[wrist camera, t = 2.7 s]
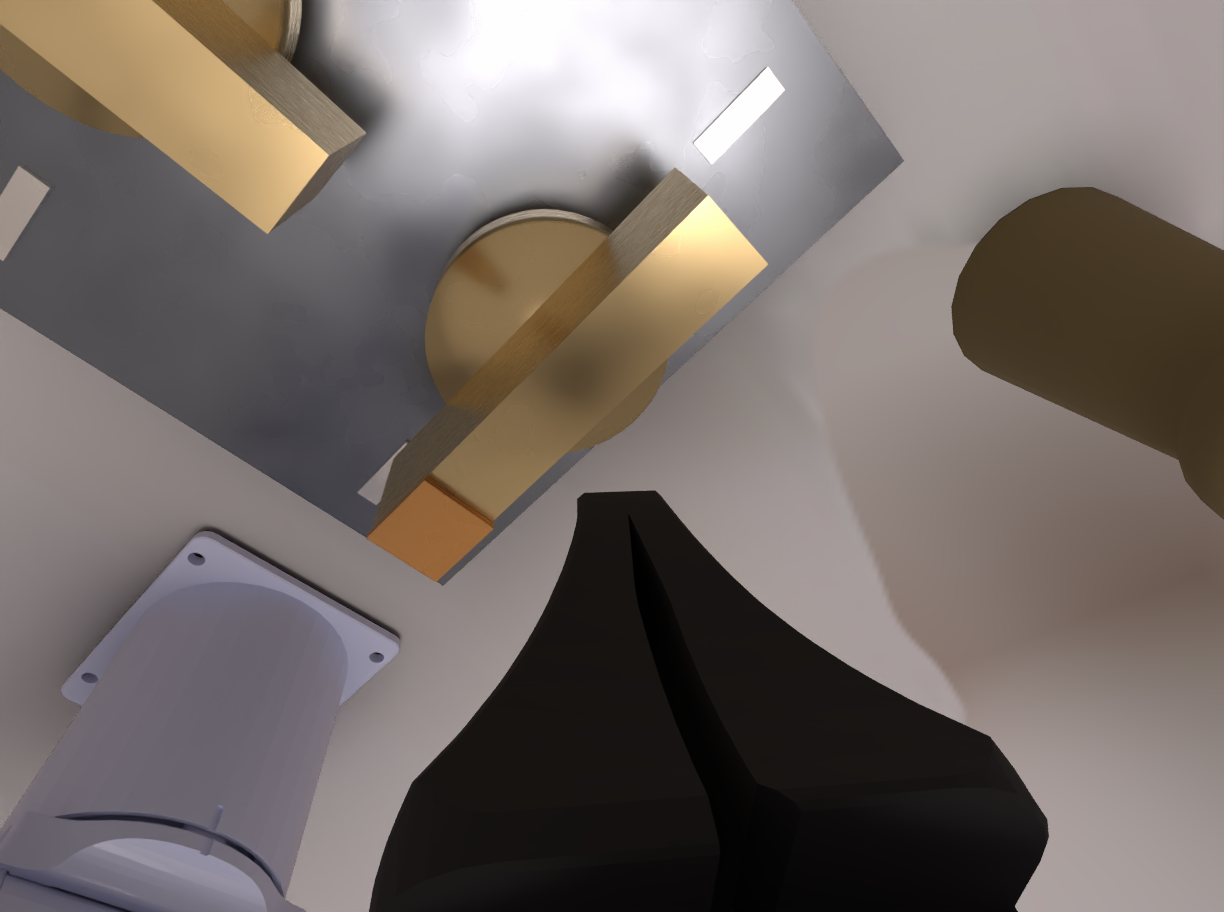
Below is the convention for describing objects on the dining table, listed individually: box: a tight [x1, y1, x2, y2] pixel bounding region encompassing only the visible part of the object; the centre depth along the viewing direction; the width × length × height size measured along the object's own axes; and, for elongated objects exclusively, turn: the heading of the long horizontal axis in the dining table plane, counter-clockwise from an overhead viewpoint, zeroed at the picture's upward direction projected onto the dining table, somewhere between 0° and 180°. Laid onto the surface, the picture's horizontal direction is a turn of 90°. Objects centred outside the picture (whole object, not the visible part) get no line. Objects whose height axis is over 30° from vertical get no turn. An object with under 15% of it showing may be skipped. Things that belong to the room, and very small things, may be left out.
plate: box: [0, 0, 904, 585], centre depth 17 cm, size 19×22×2 cm
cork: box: [952, 187, 1224, 519], centre depth 17 cm, size 6×6×11 cm
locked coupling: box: [367, 167, 768, 582], centre depth 17 cm, size 6×10×5 cm, turn 134°
